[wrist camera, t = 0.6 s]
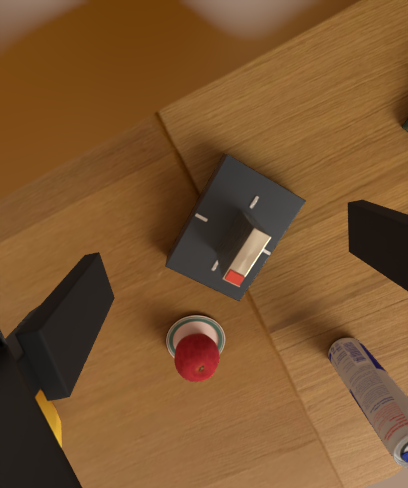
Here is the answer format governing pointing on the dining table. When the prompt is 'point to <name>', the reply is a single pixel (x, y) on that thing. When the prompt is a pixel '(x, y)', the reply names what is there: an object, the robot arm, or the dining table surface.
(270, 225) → the dial panel
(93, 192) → the dining table surface
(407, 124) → the button block
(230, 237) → the pointer knob
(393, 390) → the beverage can
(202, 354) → the apple
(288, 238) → the dining table surface
